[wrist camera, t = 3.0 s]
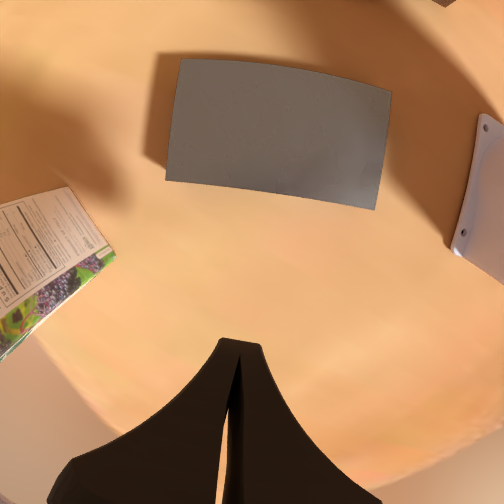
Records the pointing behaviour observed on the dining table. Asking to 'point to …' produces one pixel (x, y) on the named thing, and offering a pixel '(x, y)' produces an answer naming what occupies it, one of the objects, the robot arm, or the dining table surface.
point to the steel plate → (278, 131)
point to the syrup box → (44, 260)
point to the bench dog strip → (444, 2)
